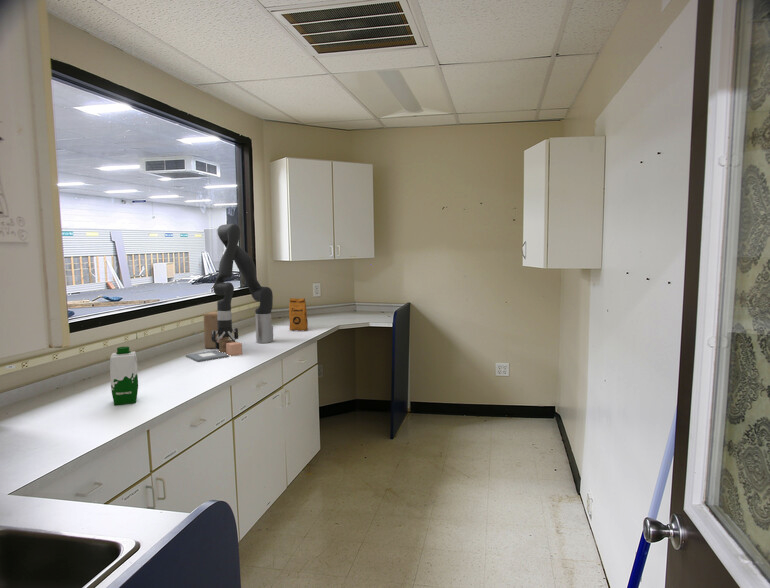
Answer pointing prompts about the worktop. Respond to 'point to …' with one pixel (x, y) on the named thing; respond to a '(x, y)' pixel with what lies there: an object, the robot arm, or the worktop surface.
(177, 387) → the worktop surface
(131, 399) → the milk carton
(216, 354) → the slate mat
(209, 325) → the wooden block
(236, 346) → the terracotta cube
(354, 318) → the worktop surface
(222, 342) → the walnut cube
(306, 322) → the coffee package
